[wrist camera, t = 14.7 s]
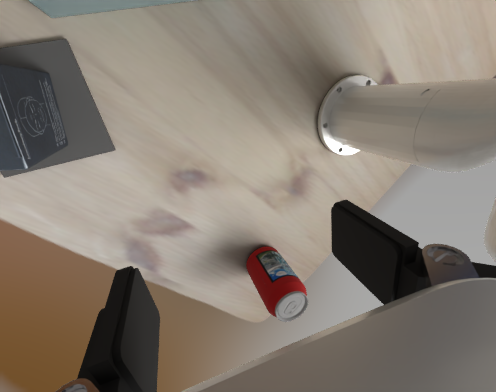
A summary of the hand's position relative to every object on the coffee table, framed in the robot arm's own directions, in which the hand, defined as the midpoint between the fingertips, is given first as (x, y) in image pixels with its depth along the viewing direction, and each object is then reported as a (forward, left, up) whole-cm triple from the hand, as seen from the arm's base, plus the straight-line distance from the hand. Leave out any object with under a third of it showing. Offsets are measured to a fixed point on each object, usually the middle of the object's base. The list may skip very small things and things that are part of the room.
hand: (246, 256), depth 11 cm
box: (+15, -8, -25) cm, 31 cm away
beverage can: (-7, +24, -26) cm, 36 cm away
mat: (+15, -8, -26) cm, 31 cm away
